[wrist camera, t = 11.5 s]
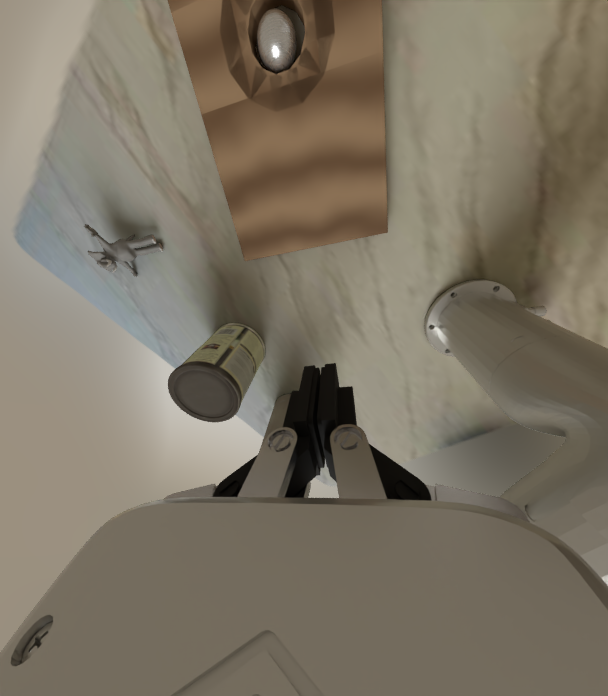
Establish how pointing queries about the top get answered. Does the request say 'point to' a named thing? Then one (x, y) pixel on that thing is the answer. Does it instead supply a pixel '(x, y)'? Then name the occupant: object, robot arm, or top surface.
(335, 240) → the deck
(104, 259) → the grey toy figure
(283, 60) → the ball
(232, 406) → the coffee can
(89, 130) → the top surface
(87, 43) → the top surface
